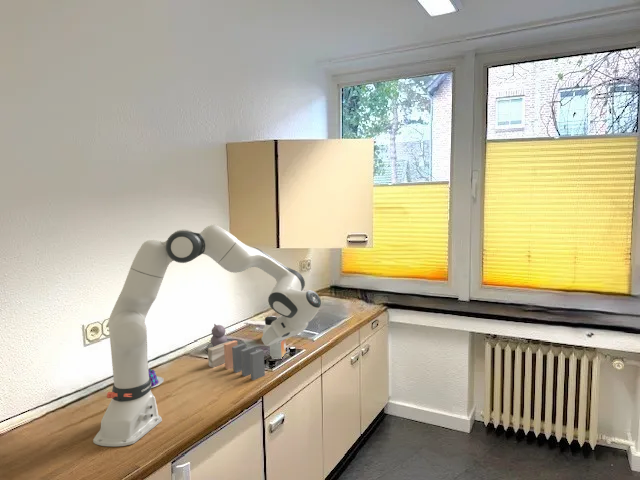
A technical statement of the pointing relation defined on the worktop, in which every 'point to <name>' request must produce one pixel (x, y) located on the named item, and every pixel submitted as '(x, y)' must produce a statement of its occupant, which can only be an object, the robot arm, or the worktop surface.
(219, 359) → the stop
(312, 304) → the robot arm
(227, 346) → the end domino
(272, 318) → the medicine bottle
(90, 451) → the worktop surface
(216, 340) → the cat figurine
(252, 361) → the domino
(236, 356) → the domino
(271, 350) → the small box
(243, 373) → the domino
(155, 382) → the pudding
